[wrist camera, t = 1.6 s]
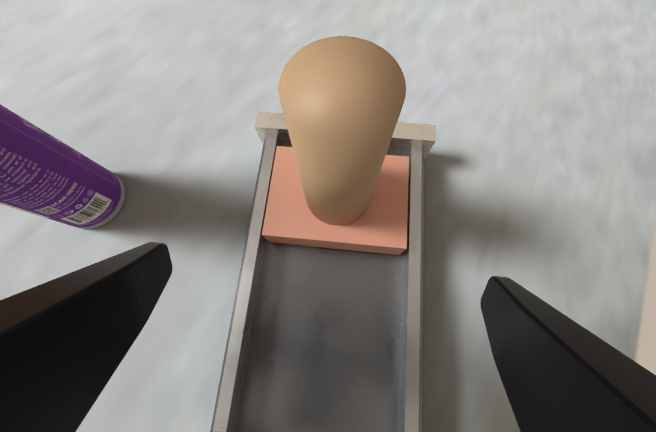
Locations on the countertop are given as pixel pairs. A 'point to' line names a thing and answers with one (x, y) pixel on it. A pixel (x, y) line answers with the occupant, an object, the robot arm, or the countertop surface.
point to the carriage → (340, 151)
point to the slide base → (327, 320)
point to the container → (54, 177)
